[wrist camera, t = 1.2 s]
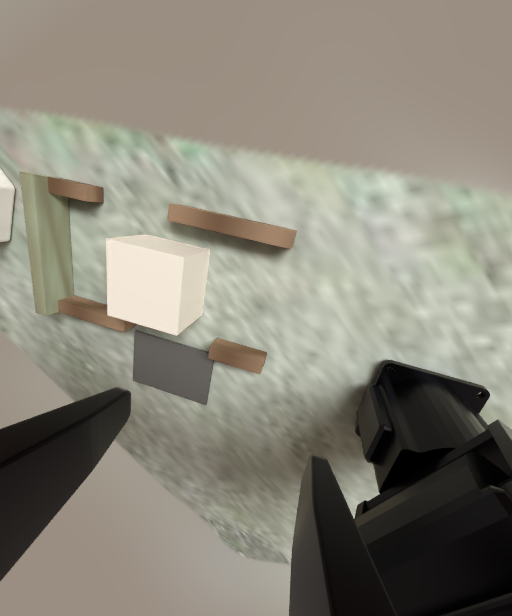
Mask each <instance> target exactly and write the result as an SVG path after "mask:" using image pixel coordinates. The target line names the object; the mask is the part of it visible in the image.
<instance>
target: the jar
mask: <svg viewBox="0 0 512 616" xmlns="http://www.w3.org/2000/svg"><path fill="white" fill-rule="evenodd" d="M14 195H15V187H14V186H13V184H12V183H11V182H10V180H9V179H8V178H7V176H6V175H5V173H4V172H3V171H2V169H1V168H0V242H7V241H9V240H10V236H11V226H12V215H13V205H14Z"/></svg>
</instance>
